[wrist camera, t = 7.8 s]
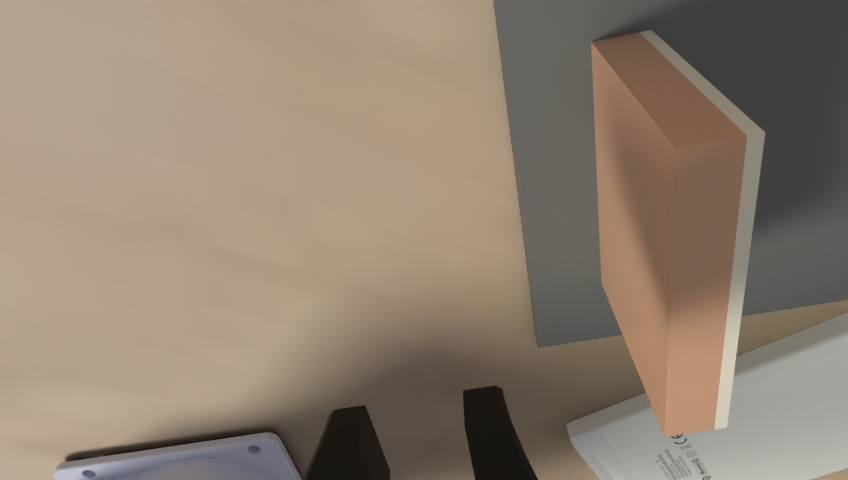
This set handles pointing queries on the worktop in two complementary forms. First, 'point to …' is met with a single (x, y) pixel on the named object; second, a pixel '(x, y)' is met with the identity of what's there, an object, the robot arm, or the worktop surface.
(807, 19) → the mat
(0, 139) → the worktop surface
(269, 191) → the worktop surface
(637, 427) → the external hard drive
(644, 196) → the tile
